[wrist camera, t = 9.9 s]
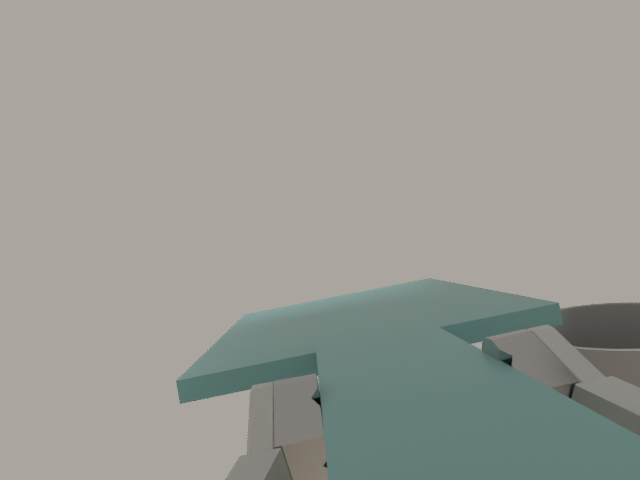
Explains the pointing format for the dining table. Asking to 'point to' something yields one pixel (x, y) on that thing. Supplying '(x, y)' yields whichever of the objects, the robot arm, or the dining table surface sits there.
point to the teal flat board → (420, 387)
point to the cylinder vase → (606, 337)
